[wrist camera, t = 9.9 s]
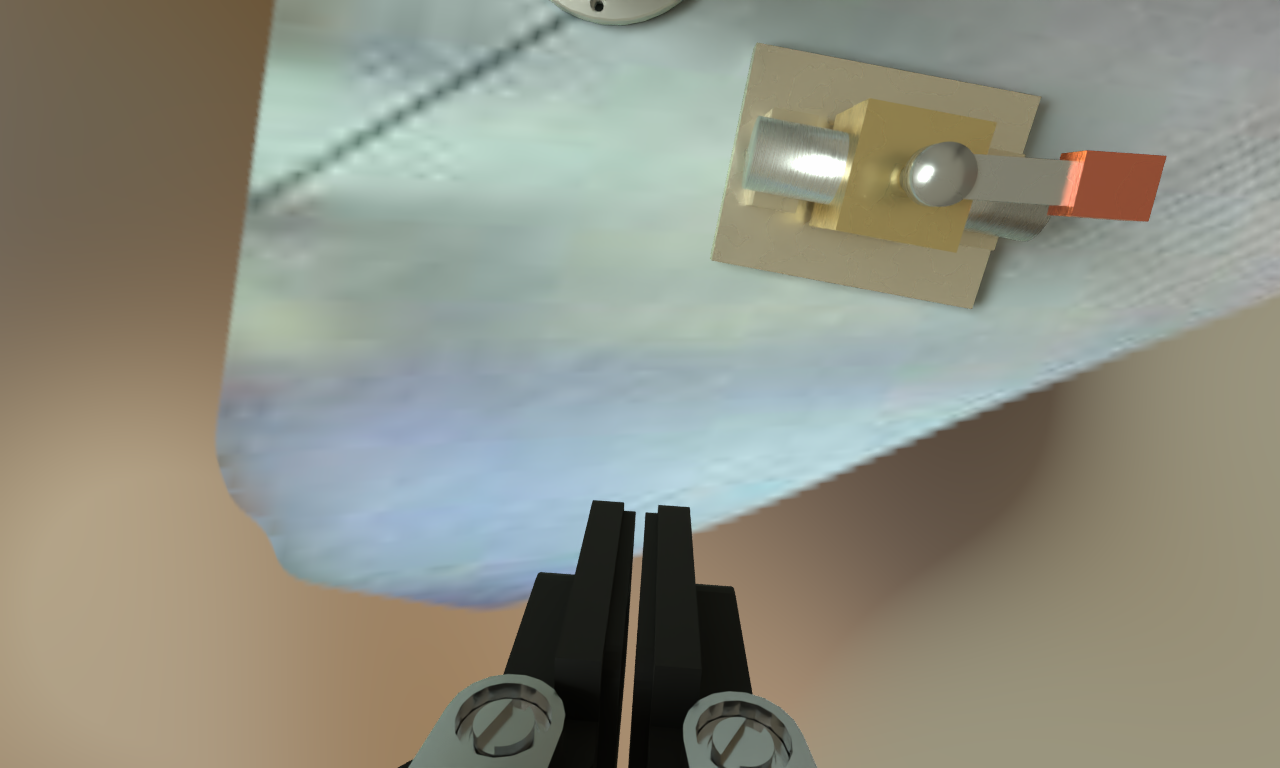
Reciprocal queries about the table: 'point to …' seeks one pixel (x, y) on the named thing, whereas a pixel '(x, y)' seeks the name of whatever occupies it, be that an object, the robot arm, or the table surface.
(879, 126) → the valve stand
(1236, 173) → the table surface
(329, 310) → the table surface
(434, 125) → the table surface
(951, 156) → the valve lever
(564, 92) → the table surface
